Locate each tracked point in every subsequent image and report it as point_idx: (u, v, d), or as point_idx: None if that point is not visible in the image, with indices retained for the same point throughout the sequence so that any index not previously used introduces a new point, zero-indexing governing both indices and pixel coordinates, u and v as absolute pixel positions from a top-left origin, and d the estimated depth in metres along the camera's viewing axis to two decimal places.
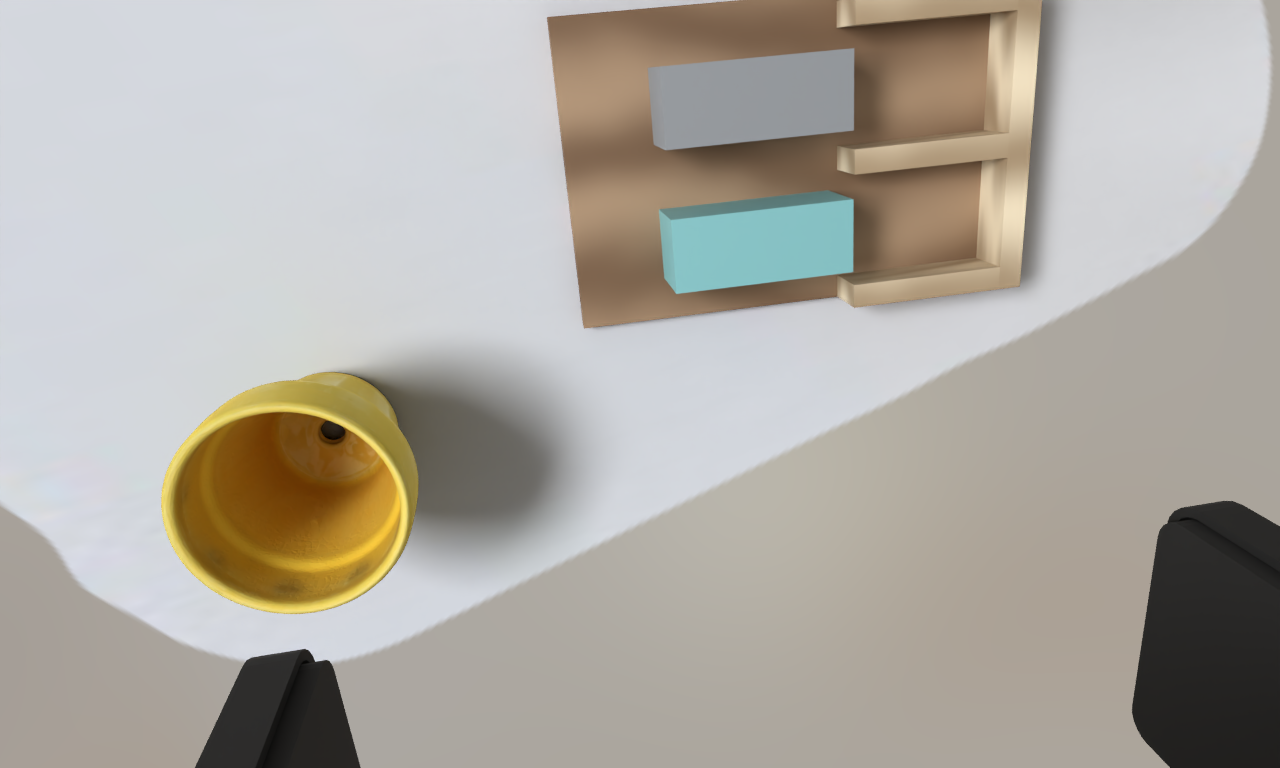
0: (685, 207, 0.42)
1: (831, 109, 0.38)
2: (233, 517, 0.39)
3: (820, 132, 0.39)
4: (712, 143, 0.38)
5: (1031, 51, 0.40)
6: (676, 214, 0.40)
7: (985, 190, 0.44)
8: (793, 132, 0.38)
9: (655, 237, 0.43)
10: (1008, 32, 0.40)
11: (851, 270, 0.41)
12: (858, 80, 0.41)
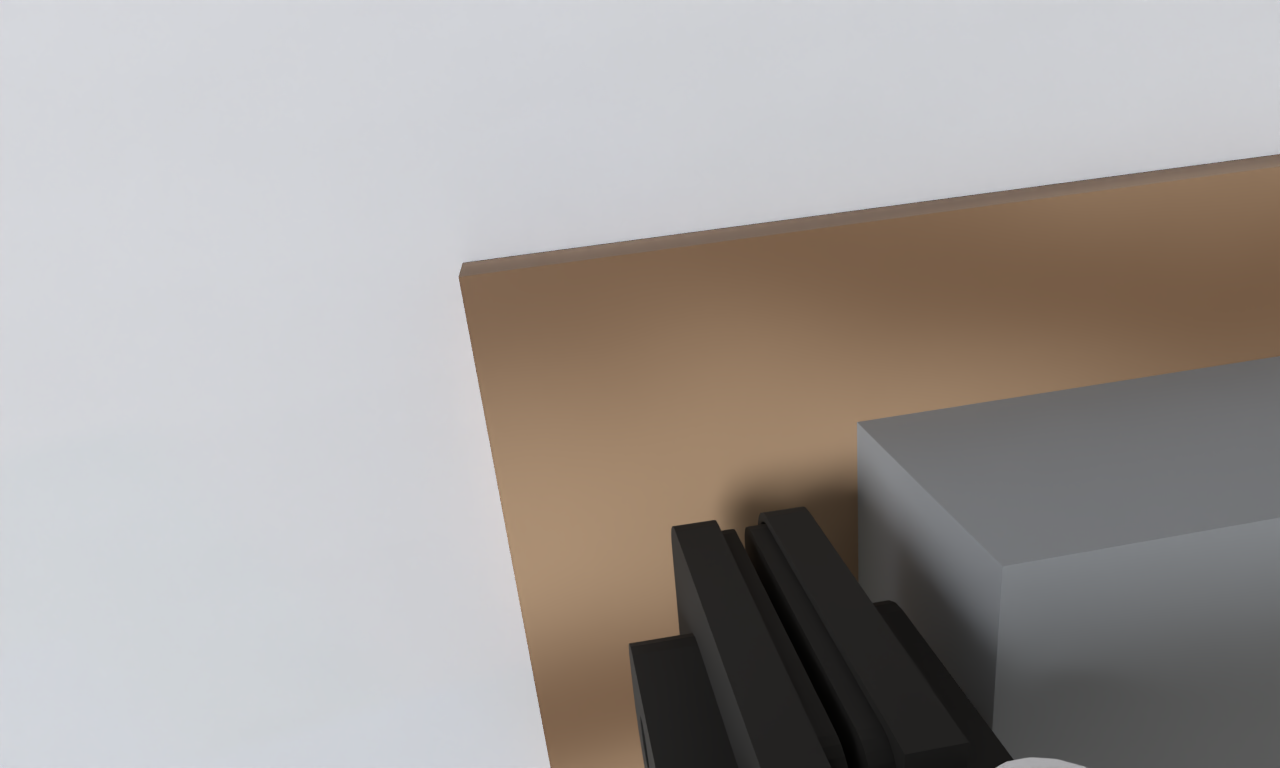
0: None
1: None
2: None
3: None
4: None
5: None
6: None
7: None
8: None
9: None
10: None
11: None
12: None
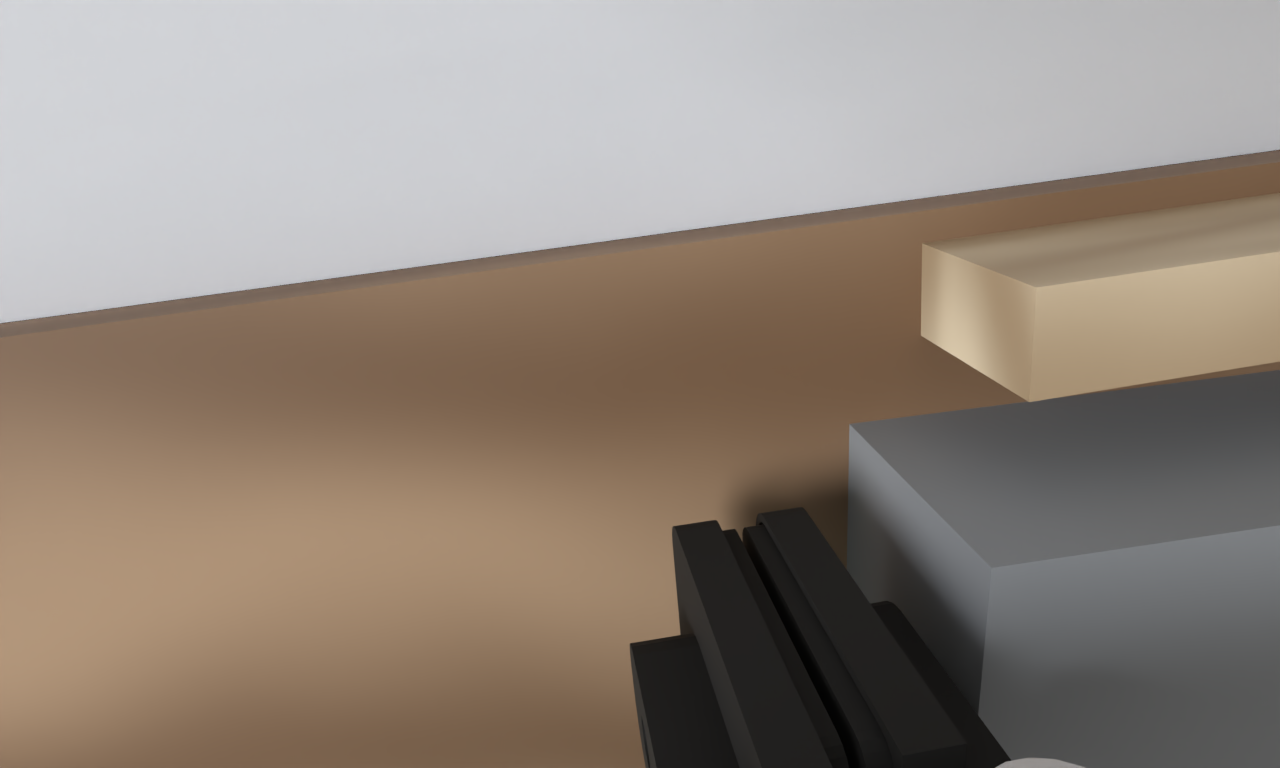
0: None
1: None
2: None
3: None
4: None
5: None
6: None
7: None
8: None
9: None
10: None
11: None
12: None
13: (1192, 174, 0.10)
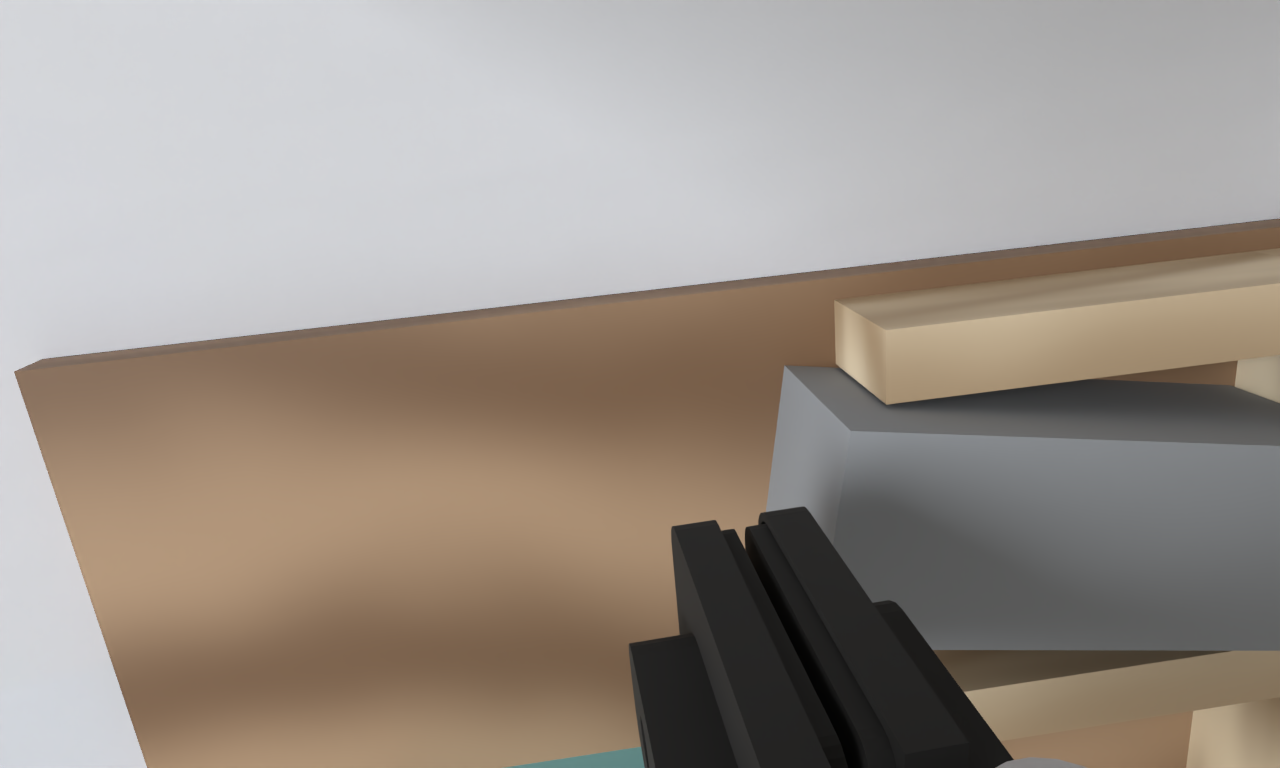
0: None
1: None
2: None
3: (1249, 647, 0.14)
4: (952, 644, 0.13)
5: None
6: None
7: (1213, 710, 0.18)
8: (1178, 640, 0.13)
9: None
10: None
11: None
12: None
13: (1026, 256, 0.15)
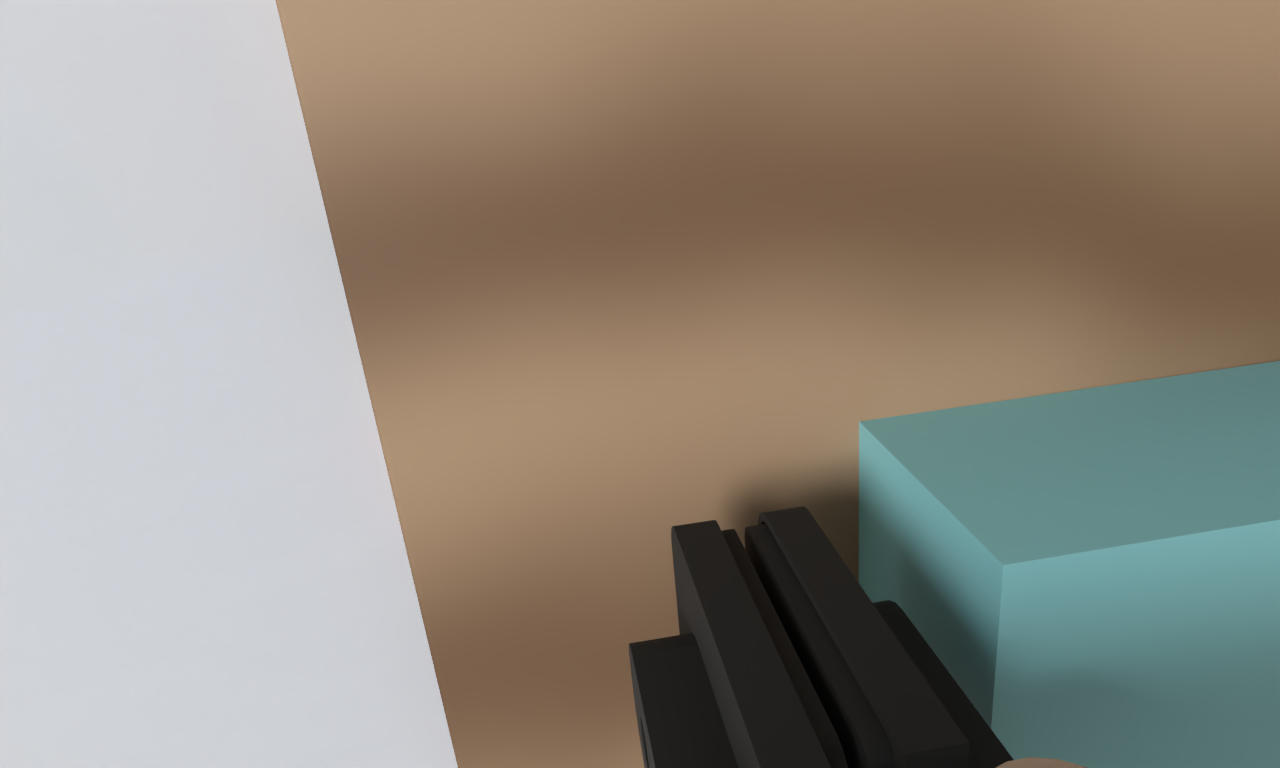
0: (966, 417, 0.11)
1: None
2: None
3: None
4: None
5: None
6: (978, 488, 0.09)
7: None
8: None
9: None
10: None
11: None
12: None
13: None
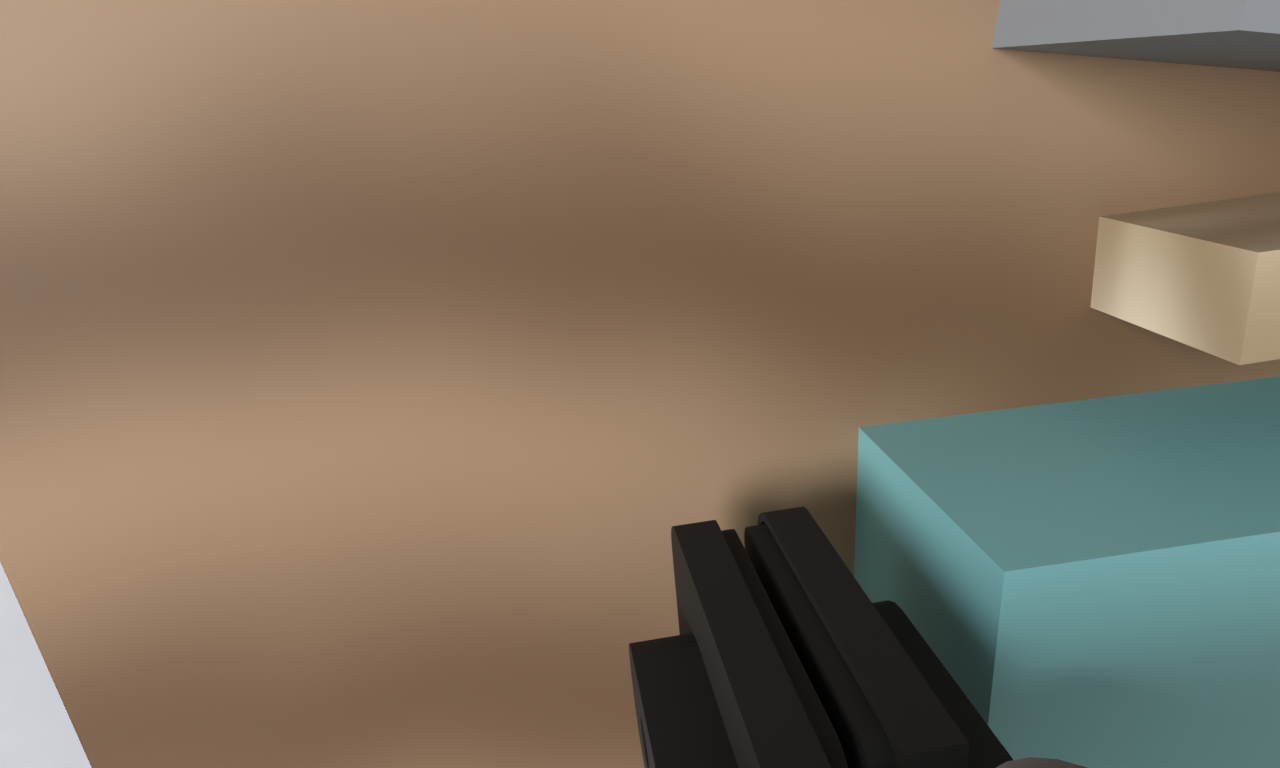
0: (965, 425, 0.11)
1: None
2: None
3: None
4: None
5: None
6: (978, 495, 0.09)
7: None
8: None
9: (377, 587, 0.11)
10: None
11: None
12: None
13: None
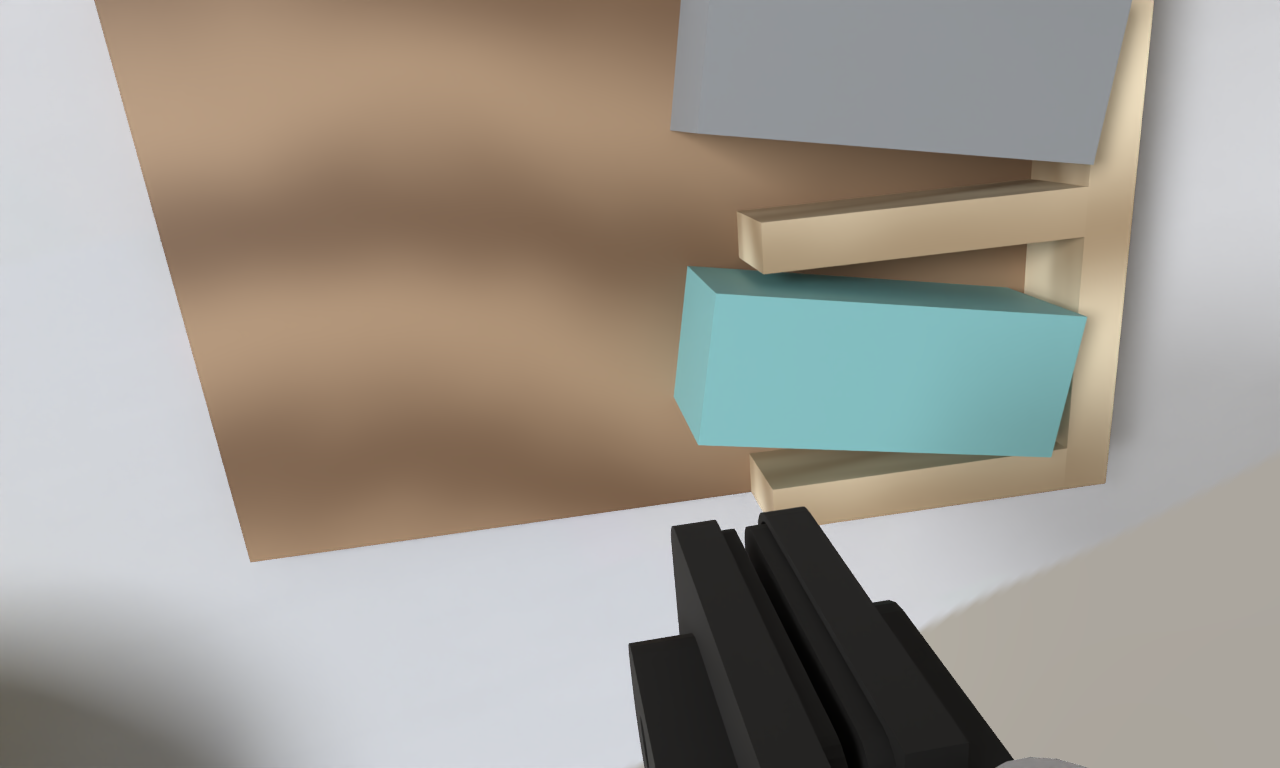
0: (740, 271, 0.21)
1: (1058, 112, 0.18)
2: None
3: (1026, 156, 0.18)
4: (799, 137, 0.17)
5: (1138, 14, 0.18)
6: (725, 282, 0.20)
7: (1035, 295, 0.22)
8: (972, 145, 0.18)
9: (376, 391, 0.21)
10: None
11: (1048, 453, 0.20)
12: None
13: None
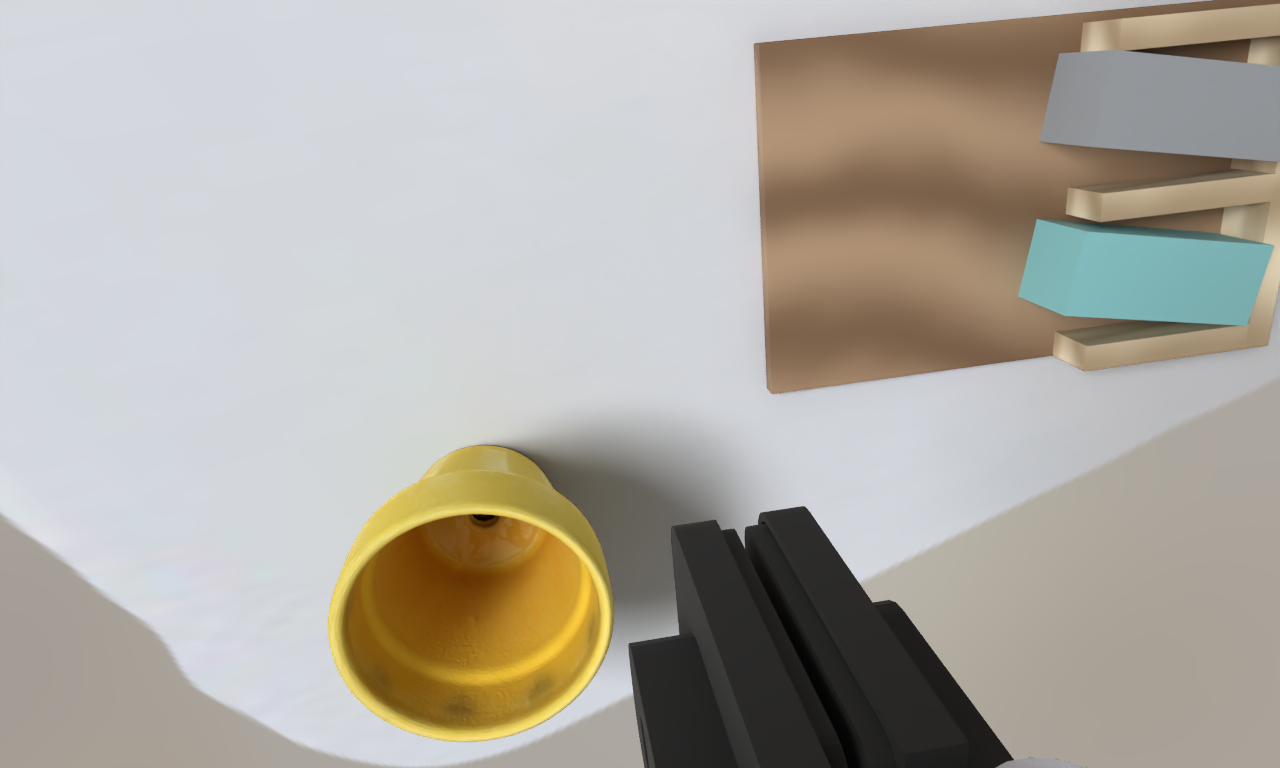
0: (1068, 222, 0.37)
1: (1270, 134, 0.34)
2: (391, 623, 0.33)
3: (1252, 157, 0.34)
4: (1140, 148, 0.33)
5: None
6: (1076, 227, 0.35)
7: None
8: (1225, 152, 0.34)
9: (858, 291, 0.37)
10: None
11: (1245, 323, 0.37)
12: None
13: (1162, 5, 0.35)
